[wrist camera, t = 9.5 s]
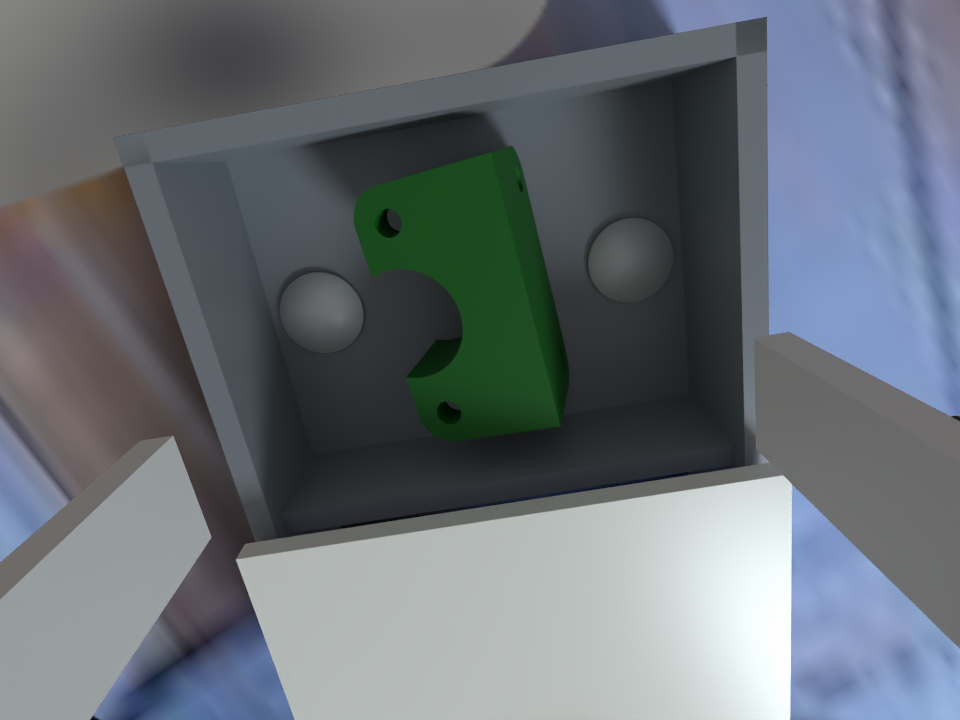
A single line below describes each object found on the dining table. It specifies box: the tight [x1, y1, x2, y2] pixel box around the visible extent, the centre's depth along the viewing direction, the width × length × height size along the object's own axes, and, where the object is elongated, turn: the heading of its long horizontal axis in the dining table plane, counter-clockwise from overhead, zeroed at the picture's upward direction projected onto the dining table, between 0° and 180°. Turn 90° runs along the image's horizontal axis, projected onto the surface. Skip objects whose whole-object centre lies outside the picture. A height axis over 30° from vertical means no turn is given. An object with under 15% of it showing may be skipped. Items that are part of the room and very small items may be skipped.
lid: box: [236, 463, 792, 720], centre depth 25 cm, size 22×17×4 cm
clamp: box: [354, 146, 569, 441], centre depth 26 cm, size 12×6×9 cm, turn 9°
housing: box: [114, 17, 770, 542], centre depth 28 cm, size 22×33×8 cm, turn 9°
